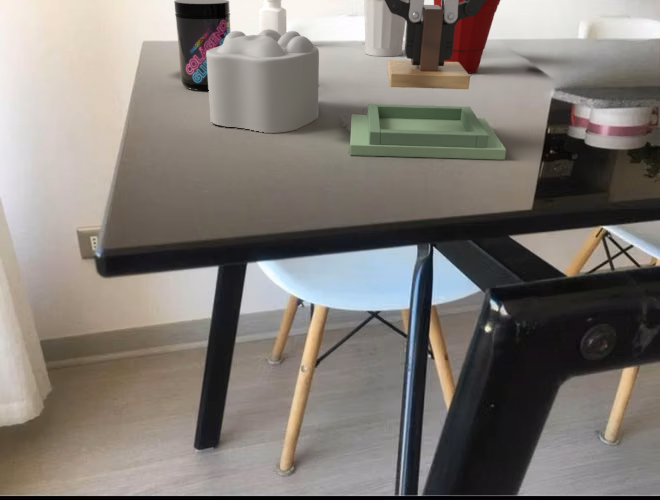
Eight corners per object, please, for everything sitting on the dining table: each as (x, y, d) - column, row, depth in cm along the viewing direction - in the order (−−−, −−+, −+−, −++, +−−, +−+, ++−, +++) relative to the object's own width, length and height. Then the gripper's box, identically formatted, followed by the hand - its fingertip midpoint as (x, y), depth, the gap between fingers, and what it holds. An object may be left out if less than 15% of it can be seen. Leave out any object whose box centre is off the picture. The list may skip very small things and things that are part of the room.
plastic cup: (510, 73, 94) (523, -14, 89) (455, 79, 89) (464, -12, 84) (462, 61, 102) (470, -19, 97) (408, 67, 97) (414, -18, 92)
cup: (394, 48, 113) (398, -24, 108) (414, 56, 106) (420, -21, 101) (353, 50, 111) (355, -24, 105) (371, 58, 104) (375, -21, 99)
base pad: (483, 127, 67) (486, 106, 66) (504, 160, 57) (508, 136, 56) (351, 123, 67) (351, 103, 66) (349, 155, 57) (350, 131, 56)
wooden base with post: (457, 74, 62) (465, 4, 60) (468, 89, 56) (477, 12, 53) (386, 72, 63) (391, 2, 60) (390, 87, 56) (395, 9, 53)
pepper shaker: (268, 43, 117) (266, -13, 113) (287, 44, 116) (287, -12, 111) (258, 46, 113) (256, -11, 109) (279, 47, 112) (278, -10, 108)
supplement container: (174, 90, 80) (166, 2, 75) (190, 80, 86) (183, -2, 81) (226, 93, 79) (221, 4, 74) (238, 82, 85) (235, -1, 81)
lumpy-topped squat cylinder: (197, 123, 66) (190, 37, 62) (256, 98, 77) (253, 23, 73) (287, 135, 62) (286, 45, 59) (335, 107, 73) (337, 29, 69)
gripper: (362, -164, 48) (353, 69, 56) (543, -160, 47) (509, 74, 55) (361, -151, 55) (354, 55, 62) (521, -148, 54) (493, 59, 62)
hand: (427, 63), depth 59 cm, fingers closed on wooden base with post, 1 cm apart
